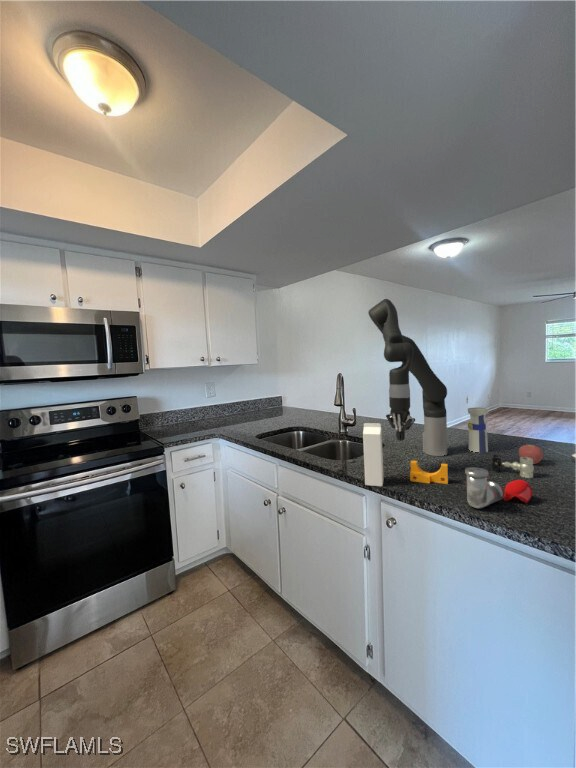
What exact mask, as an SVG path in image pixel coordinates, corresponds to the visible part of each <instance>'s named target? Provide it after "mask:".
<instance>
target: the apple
mask: <svg viewBox="0 0 576 768" xmlns="http://www.w3.org/2000/svg"><path fill="white" fill-rule="evenodd" d="M518 456H519V459H520V458H521V457H528V458H532V459H533V464H532V465H536V464H538V463H540V462H541V461H542V460H543V457H544V452H543V450H542V449H541V448H540V447H538V446H537V445H533V444H524V445H521V446H520V447H519V449H518Z"/></svg>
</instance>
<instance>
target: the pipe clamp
mask: <svg viewBox="0 0 576 768" xmlns="http://www.w3.org/2000/svg"><path fill="white" fill-rule="evenodd" d="M440 465H441V466H440V468H439V469H438V470H437V471H435V472H427V471H425V470H423V469H422V468H421V467H420V466H419V464H418V460H413V459H412V460H411V461H410V472H409V479H410V480H409V481H410V482H415V483H423V484H430V483H436V484H437V483H439V484H444V485H445V484H446V485H448V483H449V476H448V475H449V472H448V470H449V468H448V467H449V466H448V463H441V464H440Z"/></svg>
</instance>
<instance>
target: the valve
mask: <svg viewBox="0 0 576 768" xmlns="http://www.w3.org/2000/svg"><path fill="white" fill-rule="evenodd" d="M491 460H492V462H491V466H492V468H491V469H492V471H494V472H498V470H499V469H500V468H501V467H503V466H504V467H505V468H511V469H513V471H514V470H515V471H519V476H520V477H521V478H524V477H525V478H527V479H533V478H534V471H535V468H534V464H533V459H532V458H528V457H521V458H520V457H519V462H518V461H513V462H509V461H505V462H503V461H502V459H501V458H499V454H497V453H493V457H491Z"/></svg>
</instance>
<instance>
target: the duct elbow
mask: <svg viewBox="0 0 576 768" xmlns="http://www.w3.org/2000/svg"><path fill="white" fill-rule="evenodd" d="M464 474H465V475H466V499H467V503H468V504H469V506H471V507H473V508H475V509H478V510H480V509H484V508H485V507H488V506H490V505H491V504H494V503H496V502H499V501H501V500H502V499H504V494H505V491H504V489H503V487H502V486H501V485H500V484H499V483H497V482H495V481H492V480H489V481H488V477H489V471H488V470H486V469H485V468H481V467H473V466H472V467H466V468H465V469H464Z"/></svg>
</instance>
